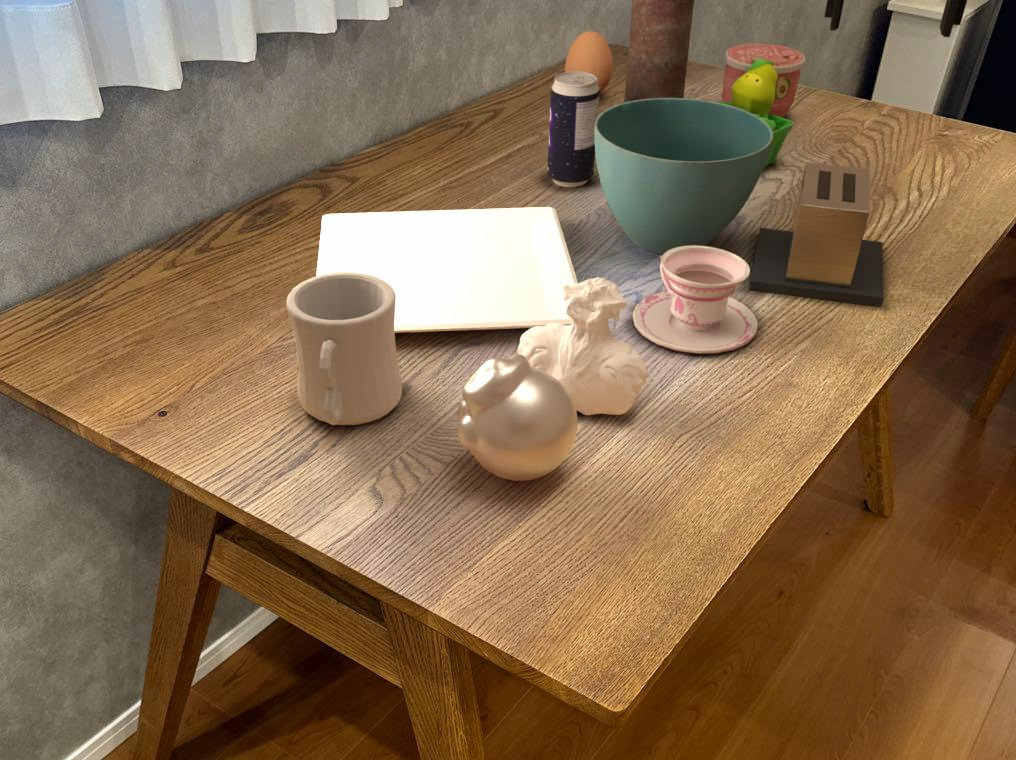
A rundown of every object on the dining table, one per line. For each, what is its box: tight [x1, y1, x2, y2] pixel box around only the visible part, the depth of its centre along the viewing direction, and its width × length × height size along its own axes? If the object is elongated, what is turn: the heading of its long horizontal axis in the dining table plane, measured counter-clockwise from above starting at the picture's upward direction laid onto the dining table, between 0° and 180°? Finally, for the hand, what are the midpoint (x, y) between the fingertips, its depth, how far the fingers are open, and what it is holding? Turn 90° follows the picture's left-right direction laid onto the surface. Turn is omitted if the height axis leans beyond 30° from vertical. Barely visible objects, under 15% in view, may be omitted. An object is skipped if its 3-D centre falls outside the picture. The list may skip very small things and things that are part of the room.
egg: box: [564, 30, 614, 95], centre depth 145 cm, size 7×7×9 cm
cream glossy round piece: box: [457, 353, 578, 482], centre depth 79 cm, size 9×10×10 cm
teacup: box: [631, 245, 759, 354], centre depth 97 cm, size 12×12×6 cm
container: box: [721, 43, 806, 118], centre depth 139 cm, size 10×10×8 cm
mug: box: [285, 272, 403, 426], centre depth 85 cm, size 12×9×10 cm
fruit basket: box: [718, 59, 794, 168], centre depth 127 cm, size 11×9×11 cm
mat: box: [748, 227, 884, 307], centre depth 107 cm, size 13×13×1 cm
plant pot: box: [594, 97, 773, 255], centre depth 109 cm, size 18×18×12 cm
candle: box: [623, 0, 695, 103], centre depth 124 cm, size 8×7×20 cm
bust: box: [517, 276, 649, 416], centre depth 87 cm, size 12×8×11 cm
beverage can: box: [546, 71, 601, 188], centre depth 121 cm, size 6×6×12 cm
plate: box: [315, 206, 579, 334], centre depth 105 cm, size 26×26×2 cm
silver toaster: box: [785, 162, 871, 288], centre depth 104 cm, size 6×12×8 cm, turn 164°
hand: (888, 29), depth 93 cm, fingers open, 9 cm apart
